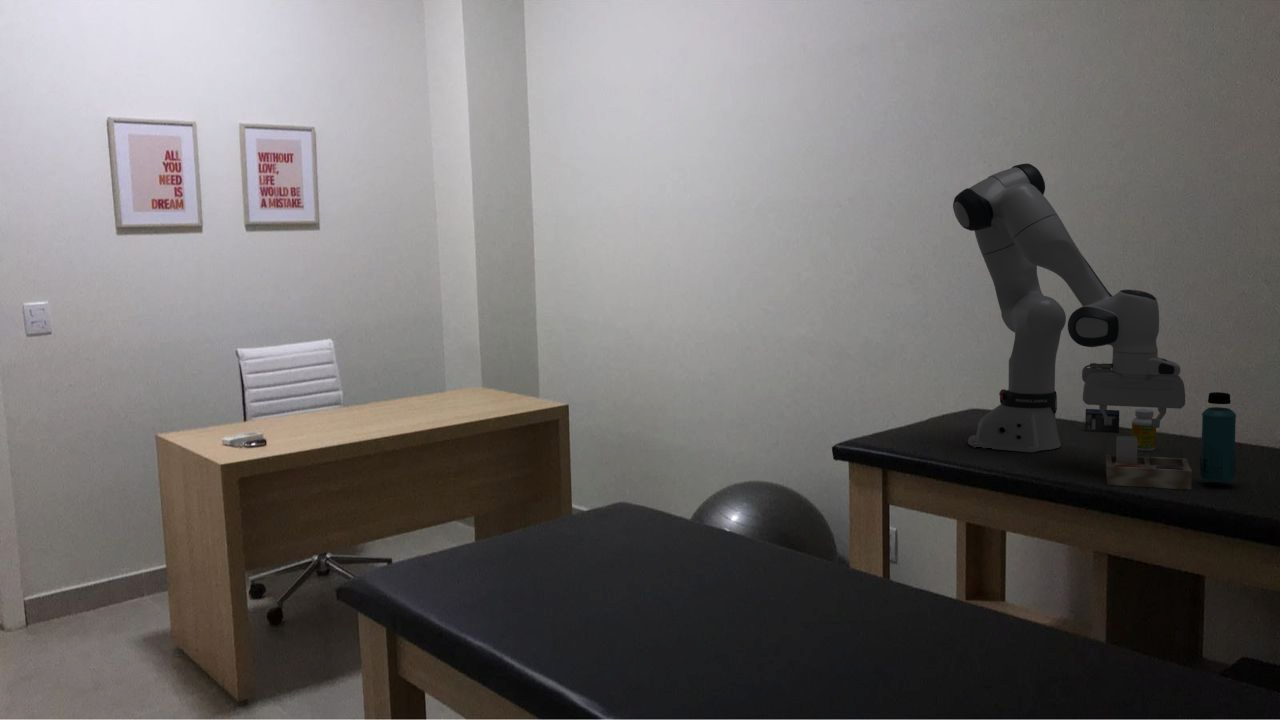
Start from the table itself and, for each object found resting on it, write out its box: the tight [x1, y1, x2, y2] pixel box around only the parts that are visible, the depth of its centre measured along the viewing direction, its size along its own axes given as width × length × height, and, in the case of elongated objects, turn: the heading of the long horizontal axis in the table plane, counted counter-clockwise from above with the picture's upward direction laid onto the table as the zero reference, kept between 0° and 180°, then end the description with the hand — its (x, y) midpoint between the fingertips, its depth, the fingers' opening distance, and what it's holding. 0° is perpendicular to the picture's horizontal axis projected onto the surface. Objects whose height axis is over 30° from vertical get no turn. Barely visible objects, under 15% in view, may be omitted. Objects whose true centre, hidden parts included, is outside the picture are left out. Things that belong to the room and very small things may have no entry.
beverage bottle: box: [1199, 391, 1237, 483], centre depth 209 cm, size 6×7×20 cm
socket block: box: [1105, 454, 1193, 491], centre depth 216 cm, size 16×12×4 cm
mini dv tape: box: [1084, 408, 1120, 434], centre depth 267 cm, size 8×2×6 cm, turn 61°
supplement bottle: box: [1131, 408, 1157, 452], centre depth 245 cm, size 5×5×10 cm
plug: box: [1115, 435, 1138, 464], centre depth 218 cm, size 4×4×9 cm
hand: (1131, 426), depth 218 cm, fingers open, 8 cm apart
